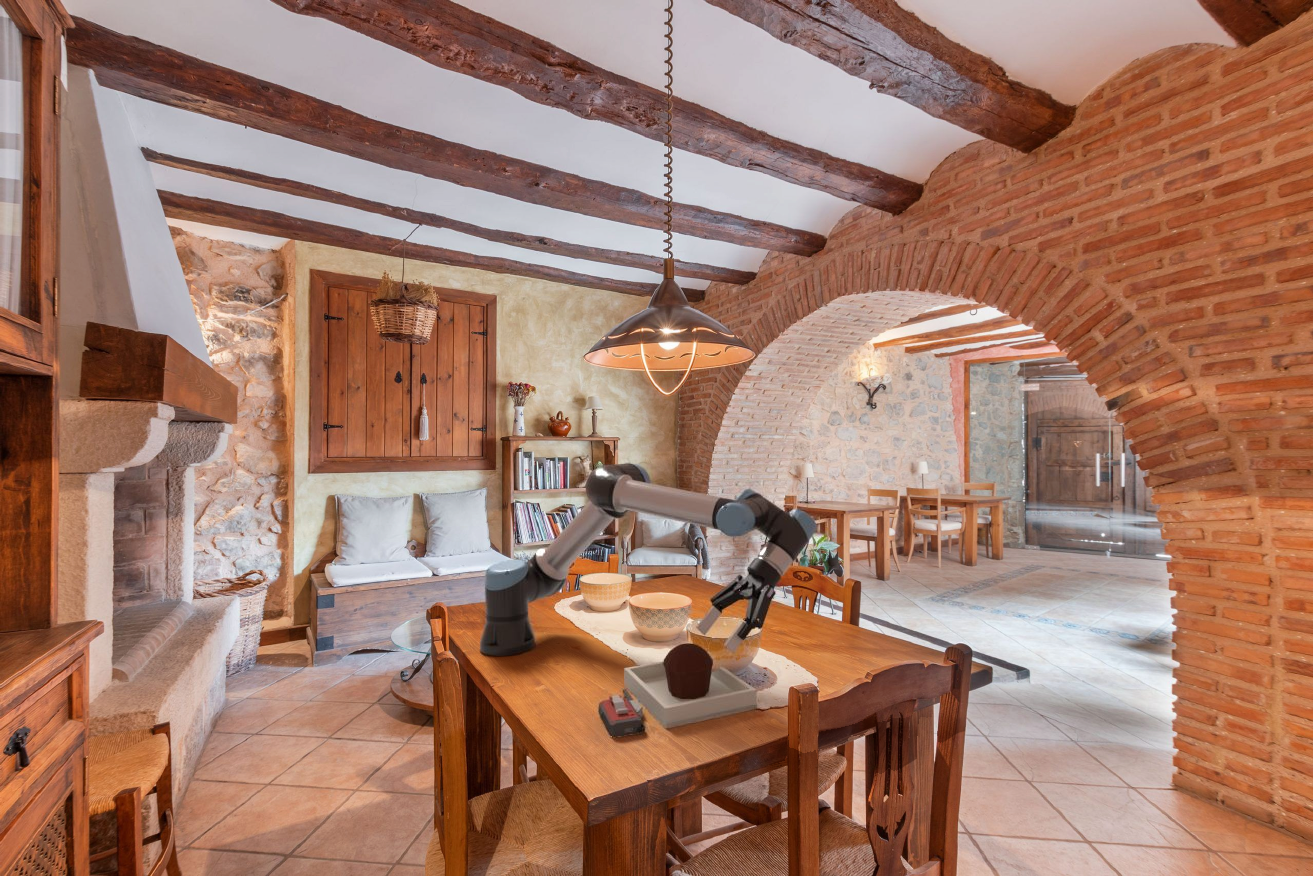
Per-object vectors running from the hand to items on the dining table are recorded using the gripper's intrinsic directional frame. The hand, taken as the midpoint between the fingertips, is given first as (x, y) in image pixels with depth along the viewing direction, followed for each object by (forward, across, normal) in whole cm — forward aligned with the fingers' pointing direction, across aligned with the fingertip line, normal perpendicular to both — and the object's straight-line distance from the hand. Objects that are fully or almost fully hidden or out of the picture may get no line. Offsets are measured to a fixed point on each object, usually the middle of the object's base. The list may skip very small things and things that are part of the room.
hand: (713, 640), depth 137 cm
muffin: (+12, +1, -4) cm, 13 cm away
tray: (+13, +1, -4) cm, 14 cm away
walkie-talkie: (+25, -2, +8) cm, 26 cm away
